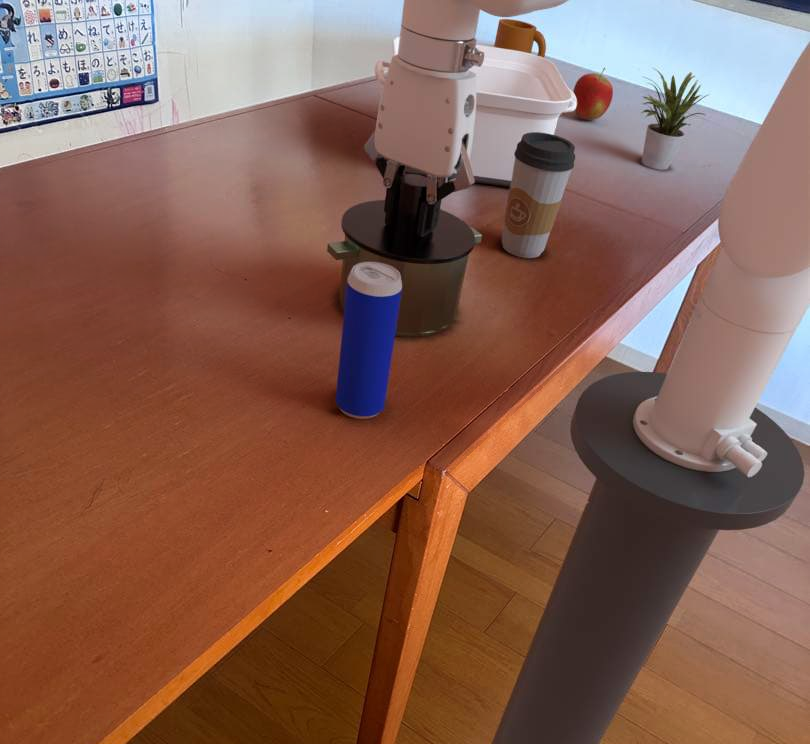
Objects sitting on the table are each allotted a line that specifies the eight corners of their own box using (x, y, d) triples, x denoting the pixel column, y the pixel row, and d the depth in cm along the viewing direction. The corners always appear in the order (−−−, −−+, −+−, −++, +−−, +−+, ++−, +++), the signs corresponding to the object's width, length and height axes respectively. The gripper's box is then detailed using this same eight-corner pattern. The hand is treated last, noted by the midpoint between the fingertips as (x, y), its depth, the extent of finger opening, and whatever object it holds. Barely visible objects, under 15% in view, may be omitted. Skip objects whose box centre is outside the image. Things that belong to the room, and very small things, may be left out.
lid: (499, 260, 95) (512, 203, 90) (381, 276, 88) (389, 215, 83) (429, 204, 104) (438, 150, 99) (317, 215, 97) (321, 157, 92)
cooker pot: (494, 323, 102) (512, 251, 96) (354, 349, 94) (363, 271, 87) (434, 270, 111) (446, 200, 104) (300, 288, 102) (304, 214, 95)
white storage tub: (366, 177, 131) (377, 76, 121) (367, 119, 152) (376, 28, 142) (570, 203, 136) (596, 108, 125) (543, 143, 156) (564, 57, 146)
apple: (573, 109, 175) (587, 58, 168) (609, 120, 173) (624, 68, 167) (562, 118, 170) (575, 65, 163) (598, 129, 168) (614, 75, 161)
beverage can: (393, 411, 86) (415, 278, 75) (357, 427, 83) (374, 291, 73) (361, 387, 88) (377, 255, 78) (324, 402, 85) (336, 267, 75)
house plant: (622, 142, 164) (650, 51, 152) (690, 160, 162) (724, 68, 150) (612, 163, 153) (641, 67, 142) (684, 182, 151) (719, 86, 140)
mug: (530, 79, 188) (540, 35, 182) (484, 65, 191) (492, 21, 185) (544, 73, 194) (554, 29, 188) (499, 59, 197) (508, 16, 191)
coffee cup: (482, 243, 119) (505, 135, 109) (517, 231, 124) (543, 127, 114) (526, 266, 116) (554, 157, 105) (560, 254, 120) (590, 148, 110)
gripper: (523, 67, 83) (485, 241, 95) (384, 24, 87) (365, 196, 100) (492, 80, 78) (456, 261, 90) (346, 34, 82) (332, 213, 95)
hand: (409, 225), depth 95 cm, fingers closed on lid, 3 cm apart
